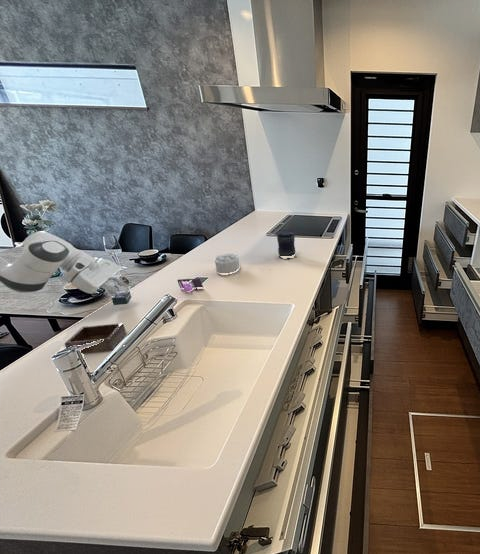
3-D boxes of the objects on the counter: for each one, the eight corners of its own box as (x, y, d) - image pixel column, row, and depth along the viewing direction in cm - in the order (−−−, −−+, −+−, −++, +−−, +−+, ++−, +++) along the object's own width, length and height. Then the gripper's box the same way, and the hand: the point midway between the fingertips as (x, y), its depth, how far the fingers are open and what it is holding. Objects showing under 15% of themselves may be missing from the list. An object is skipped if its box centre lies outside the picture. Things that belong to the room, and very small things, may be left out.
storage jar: (284, 252, 188) (282, 229, 182) (298, 255, 185) (297, 231, 179) (275, 257, 179) (273, 233, 173) (289, 260, 176) (288, 235, 170)
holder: (69, 354, 94) (64, 343, 93) (86, 337, 103) (82, 326, 101) (112, 350, 97) (108, 339, 96) (126, 333, 106) (123, 323, 104)
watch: (133, 303, 120) (125, 277, 115) (108, 305, 117) (99, 280, 113) (137, 296, 125) (129, 272, 120) (113, 299, 122) (104, 274, 117)
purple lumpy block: (200, 277, 135) (177, 278, 133) (198, 285, 131) (174, 286, 129) (204, 287, 139) (182, 289, 137) (202, 295, 136) (179, 297, 133)
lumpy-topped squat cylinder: (241, 266, 165) (239, 251, 161) (235, 276, 153) (233, 260, 149) (221, 267, 163) (218, 251, 159) (213, 276, 151) (210, 260, 148)
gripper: (92, 261, 122) (127, 282, 128) (59, 282, 104) (102, 305, 110) (102, 250, 121) (137, 271, 128) (70, 269, 103) (112, 293, 110)
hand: (120, 287), depth 119 cm, fingers closed on watch, 4 cm apart
